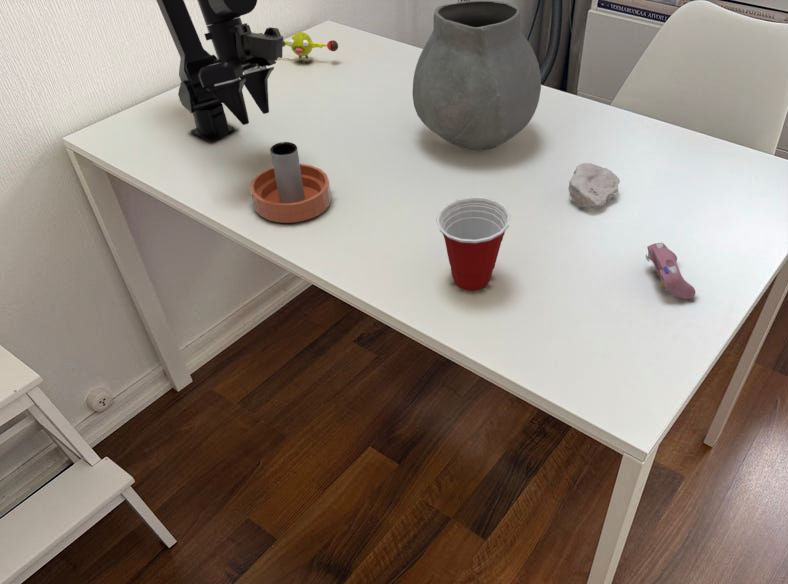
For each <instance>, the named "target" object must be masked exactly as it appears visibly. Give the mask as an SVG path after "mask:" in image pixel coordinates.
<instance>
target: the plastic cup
mask: <svg viewBox="0 0 788 584" xmlns="http://www.w3.org/2000/svg"><path fill="white" fill-rule="evenodd" d="M511 216H512V215H511V213H510V212H509V209H508V207H507V206H505V205H504V204H503V203H501V202H500V201H499V200H496V199H492V198H489V197H485V196H467V197H463V198H457V199H455V200H452V201H451V202H448V203H446V204H445V205H444V206H443V207H442V208H441V209H440V210H439V211H438V213H437V217H436V221H435V222H436V225H437V227H438V230H439V232H440V233H442V235H443V238H444V242H445V243H444V244H445V248H446V253H447V258H448V263H449V266H450V272H451V277H452V281H453V282H454V285H455V286H456V287H458V288H459V289H461V290H462V291H467V292H477V291H481V290H483V289H485V288H487V286H488V285H489V283H490V282H491V280H492V279H491V277H492V274H493V272H494V269H495V268H496V267H495V266H496V263H497V259H498V255H499V252H500V248H501V245H502V242H503V238H504V236H505V233H506V231H507V229H508V228H509V226H510V221H511Z"/></svg>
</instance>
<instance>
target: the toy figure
mask: <svg viewBox="0 0 788 584" xmlns="http://www.w3.org/2000/svg"><path fill="white" fill-rule="evenodd" d="M283 41H284V42H285V46H287V47H290V48H291V50H292V52H293V53H294V54H295V55H296V56H298V63H303V57H305V60H304V63H305V64H307V63H309V62H310V60H309V56H308V55H309V54H310V53H311V52H312V50H313V49H315V48H319V49H322V48H323V47H326V48H327V49H328V50H329V51H331V52H336V51H338V48H339V43H338V41H336V40H334V39H333V40H332V39H331V40H329V41H328V42H327V43H326V44H325V43H322V42H314V41H313V40H312V38H311V36H310V35H309V34H307V33H306V32H303V31H298V32H295V33H294V34H293V35H292V37H291V38H290V39H289V40H284V39H283Z"/></svg>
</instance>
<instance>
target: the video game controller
mask: <svg viewBox="0 0 788 584" xmlns="http://www.w3.org/2000/svg"><path fill="white" fill-rule="evenodd" d="M646 249H647V253H645V260H646V261H648V262H650V261H651V262H652V263H653V266H654V268H655V269H654V270H655V271H656V274H657V276H658V278H660V280H661V282H659V283H660V286H661V287H662V288H664V290H665V291H666V292H667V291H668V292H670V293H671V294H673V295H674V296H675V297H677V298H679V299H682V300H691V299H693V298H694V297H695V296H696V289H695V287H694V286H693V285H692V284H690V283H689V282H688V281H686V280H685V279H684V277H683V275H682V274H681V273H682V272H681V270H680V268H679V266H678V264H677V261H678V256H677V255H676V253H675V252H673V251H672V250H670V249H669V248H668V246H667V245H666V244H664V243H663V242H662V241H661V242H656V243H652V244H650V245H647V247H646Z"/></svg>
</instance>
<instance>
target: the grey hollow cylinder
mask: <svg viewBox="0 0 788 584" xmlns="http://www.w3.org/2000/svg"><path fill="white" fill-rule="evenodd" d="M269 152H270V157H271V158H270V159H271V163H272V167H273V168H274V174H275V179H276V184H277V190H278V195H279V200H280V203H294V202H300V201H303V200H305V194H304V188H303V181H302V175H301V169H300V164H301V163H300V156H299V150H298V146H297V145H296V144H295V143H293V142H291V141H290V142H289V141H280V142H276V143H275V144H273V145H271V147H270V149H269Z"/></svg>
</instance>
